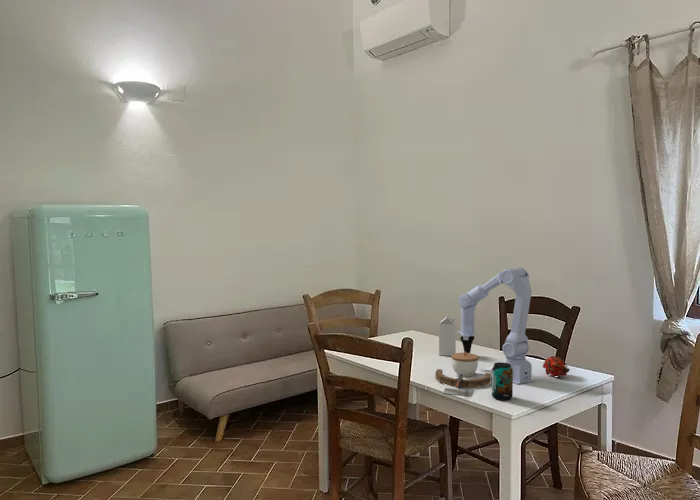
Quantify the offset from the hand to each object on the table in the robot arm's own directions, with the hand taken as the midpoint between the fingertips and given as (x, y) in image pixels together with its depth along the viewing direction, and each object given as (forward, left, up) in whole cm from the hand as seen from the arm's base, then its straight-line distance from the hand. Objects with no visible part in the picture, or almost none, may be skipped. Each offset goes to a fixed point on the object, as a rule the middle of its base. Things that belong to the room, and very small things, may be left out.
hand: (467, 353), depth 223 cm
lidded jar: (-8, +7, -6) cm, 12 cm away
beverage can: (-37, +14, -6) cm, 40 cm away
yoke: (-19, +19, -6) cm, 27 cm away
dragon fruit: (-27, -24, -6) cm, 36 cm away
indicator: (-22, +22, -4) cm, 31 cm away
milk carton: (+22, -7, -6) cm, 24 cm away
